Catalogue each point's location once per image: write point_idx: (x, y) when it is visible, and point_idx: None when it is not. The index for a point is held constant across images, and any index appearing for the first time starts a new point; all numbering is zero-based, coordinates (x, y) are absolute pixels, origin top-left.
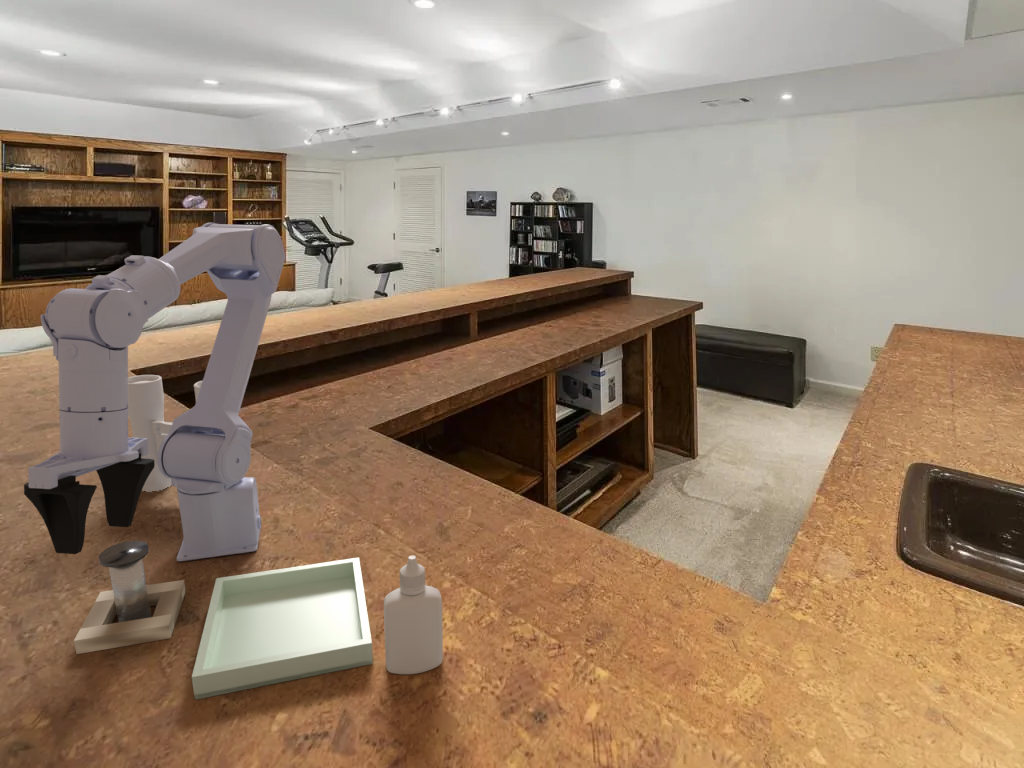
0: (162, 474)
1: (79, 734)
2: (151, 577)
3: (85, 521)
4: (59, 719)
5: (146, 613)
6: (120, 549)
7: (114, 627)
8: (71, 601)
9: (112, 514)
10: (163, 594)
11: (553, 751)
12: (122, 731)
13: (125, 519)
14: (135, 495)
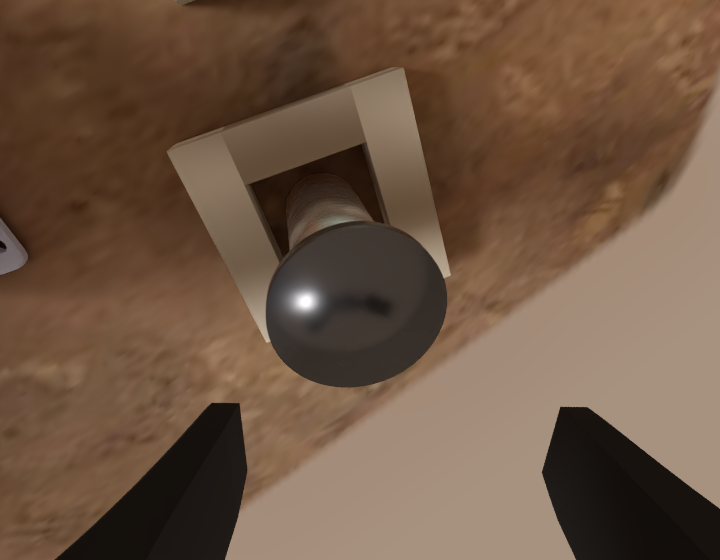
0: None
1: (662, 101)
2: (130, 284)
3: (674, 522)
4: (613, 167)
5: (331, 179)
6: (344, 337)
7: (408, 217)
8: (264, 388)
9: (231, 511)
10: (255, 173)
11: None
12: (683, 7)
13: (228, 441)
14: (142, 542)
